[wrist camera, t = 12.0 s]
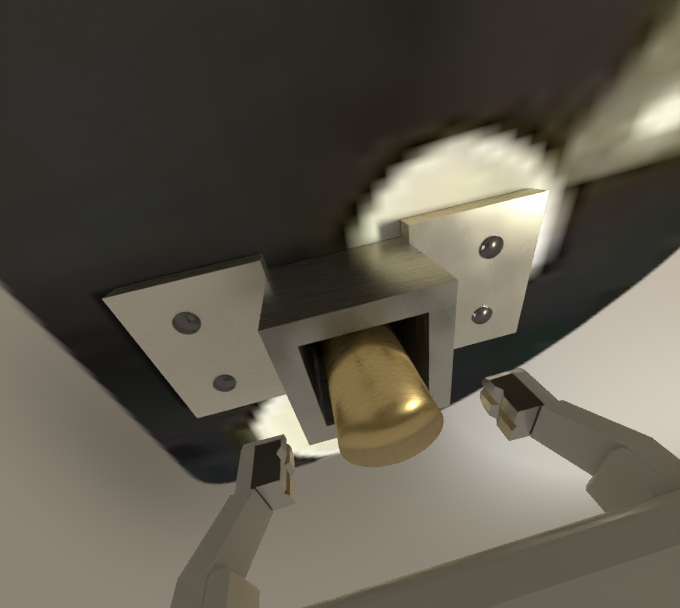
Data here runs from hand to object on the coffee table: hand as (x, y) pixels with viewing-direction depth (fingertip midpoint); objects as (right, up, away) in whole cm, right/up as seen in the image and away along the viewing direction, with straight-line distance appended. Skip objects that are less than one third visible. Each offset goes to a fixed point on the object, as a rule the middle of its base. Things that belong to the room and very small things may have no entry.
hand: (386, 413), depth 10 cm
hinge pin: (-1, +4, +7) cm, 8 cm away
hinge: (-1, +4, +7) cm, 8 cm away
